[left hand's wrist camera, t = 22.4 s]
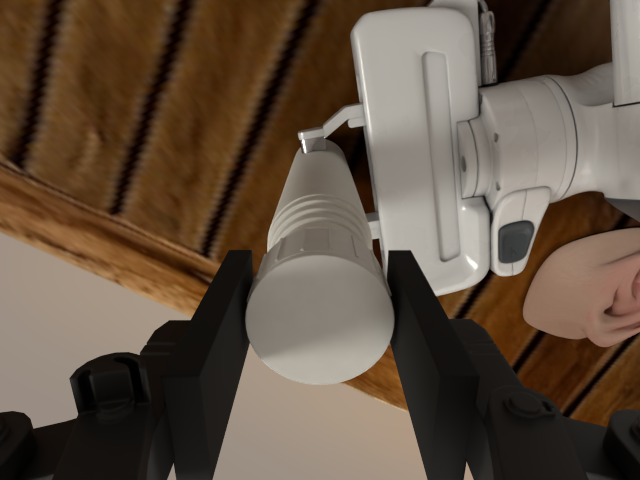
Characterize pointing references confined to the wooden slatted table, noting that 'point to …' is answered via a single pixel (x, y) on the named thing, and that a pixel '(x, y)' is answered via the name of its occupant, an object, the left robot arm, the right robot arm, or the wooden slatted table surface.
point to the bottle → (320, 197)
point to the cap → (319, 307)
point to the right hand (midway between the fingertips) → (308, 183)
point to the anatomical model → (589, 289)
